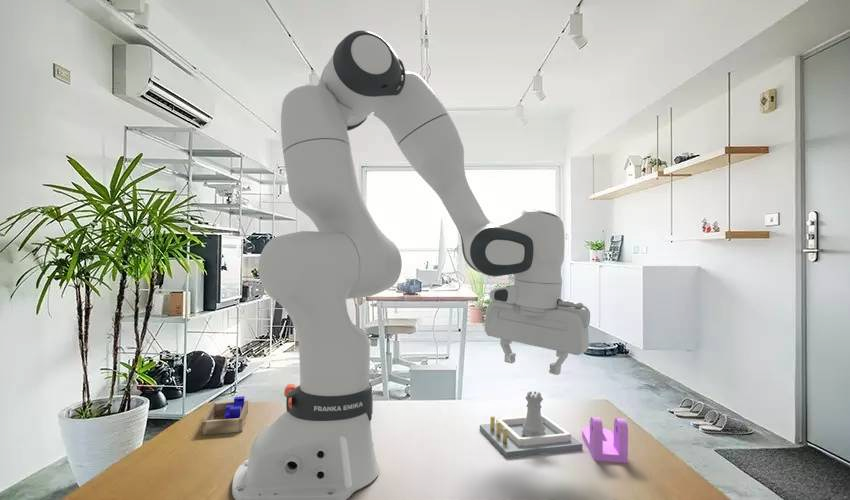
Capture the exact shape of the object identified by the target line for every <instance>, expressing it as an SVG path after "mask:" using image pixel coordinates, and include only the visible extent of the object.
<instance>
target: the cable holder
mask: <svg viewBox="0 0 850 500" xmlns="http://www.w3.org/2000/svg"><path fill="white" fill-rule="evenodd" d="M245 399H246V396H245V395H242V396H235V397H234V398H233V402H234V404H227V406H226V412H225V415H224V419H235V418H240V415H241V412H242V409H243V406H244V403H245V401H246V400H245Z"/></svg>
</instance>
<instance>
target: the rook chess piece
mask: <svg viewBox="0 0 850 500" xmlns="http://www.w3.org/2000/svg"><path fill="white" fill-rule="evenodd" d="M526 394H527V395H526V396H525V400H526V401H527V404H526V409H527V411H526V412H527V413H526V416H527V417H526V420H525V423H524V424H523V426H522V428H523V430H522V433H523V435H524V436H525V437H532V436H542V435H545V434H546V433H545V432H544V431H545V426H544V425H543V422H542V420H541V415H542V414H541V409H542V405H541V403H542V402H543V400H544V398H543V397H542V394H541V392H539V391H538V392H537V391H528V392H527V393H526Z"/></svg>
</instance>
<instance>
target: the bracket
mask: <svg viewBox="0 0 850 500" xmlns="http://www.w3.org/2000/svg"><path fill="white" fill-rule="evenodd" d="M603 426H604V425H603V422H602V418H601V417H599V416H598V417H597V416H596V417H595V416H591V417H590V420H589V426H584V427H583V428H582V429H581V437H582V440H583V441H584V444H585V445H586V448H587V449H588V451H589V453H590V456H591V457H592V459H593V461H595V462H611V463H622V464H623V463H625V464H627V463H628V462H629V460H628V458H629V454H628V453H629V428H628V422H627V420H626V418H619V417H618V418H617V417H616V418H614V421H613V432H612V430H610V429H608V428H605V427H603Z"/></svg>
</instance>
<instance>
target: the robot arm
mask: <svg viewBox="0 0 850 500" xmlns="http://www.w3.org/2000/svg"><path fill="white" fill-rule="evenodd" d="M372 113H373V114H372ZM371 114H372V115H373V116H374V117H376V118H378V119H379V120H380V121H381V122H382V123H383V124H384V125H385V126H386V127H387V129H389V131H390V133H391V135H392V137H393V140H394V141H395V143H396V144H397V146H398V147H399V149H400V151H401V153H402V154H403V156H404V157H405V159H406V160H407V161H408V163H409V164H410V166H411V167H412V168H413V169H414V170H415V172H416V173H418V174H419V176H420V177H421V179H423V180H424V181H425V182H426V184H427V185H429V186H430V188H432V190H433V191H434V192H435V193H436V195H437V196H438V197H439V199H440V200H441V202H442V204H443V206H444V207H445V209H446V211H447V213H448V214H449V216H450V218H451V219H452V221H453V223H454V225H455V226H456V229H457V231H458V233H459V234H460V240H461V250H462V255H463V259H464V261H465V262H466V264H467V265H468V266H469V267H470V269H472V270H474V271H476V272H477V273H481V274H483V275H485V276H487V277H491V278H492V277H493V278H496V277H503V276H508V275H509V276H510V275H514V279H513V284H511V285H505V286H504V287H499V288H493V289H491V290H490V291H489V298H490V300H491V301H490V302H489V304H488V305H487V307H486V311H485V317H484V318H485V319H484V332H485V333H486V335H487V336H488V337H492V338H497V339H499V340H500V347H501V349H502V351H503V353H504V362H505V363H508V364H514V363H515V362H516V357H517V355H516V353H514V352H513V350H512V348H511V346H510V344H512V342H515V343H519V344H524V345H530V346H534V347H538V348H542V349H547V350H552V351H556V353H555V356H556V357H557V360H556V361H555V362H552V363H550V364H549V369H548V371H549V374H551V375H554V376H559V375H560V374H561V372H562V371H561V370H562V365H563V364H564V362H565V361H566V360H567V358H568V357H569V354H570V355H573V356H579V355H582V354H584V353H585V352H586V351H587V350H588V349H589V342H590V341H589V336H590V335H589V325H590V321H591V311H590V309H589V308H588V307H587V306H585V305H584V304H583V303H582V302H579V301H578V302H577V301H570V300H566V299H561V298H562V289H563V288H562V287H563V286H562V285H563V278H562V272H561V271H562V266H563V263H564V259H565V243H566V242H565V241H566V240H565V225H564V223H563V220H562V219H561V218H560V216H558V215H556V214H554V213H552V212H547V211H544V210H539V209H538V210H537V209H530V208H529V209H524V210H523V211H522V212H520V213H519V214H517V215H515V216H513V217H511V218H509V219H506V220H503V221H500V222H498V223H492V222H491V221H490V220H489V219H488V218H487V216H486V214H485V213H484V211H483V209H482V207H481V205H480V203H479V201H478V200H477V198H476V196H475V195H474V193H473V191H472V189H471V187H470V185H469V183H468V180H467V177H466V171H465V151H464V150H465V149H464V145H463V142H462V139H461V137H460V134H459V131H458V129H457V127H456V124H455V123H454V121H453V119H452V117H451V116H450V113H449V112H448V110H447V109H446V107H445V106H444V105H443V103H442V101H441V100H440V98H439V97H438V96H437V95H436V93H435V92H434V91H433V89H432V88H431V87H430V85H429V84H428V83H427V82H426V81H425V79H424V78H423V77H421V75H419V74H418V73H416V72H413V71H406V68H405V65H404V64H403V60H401V59H400V58H399V57H398V55H397V53H396V51H395V50H394V49H393V47H392V46H391V45H390V44H389V43H388V42H387V41H386V40H385V39H384V38H382V37H381V36H380V35H377V34H376V33H374V32H371V31H368V30H356V31H353V32H351V33H349V34H348V35H346V36H345V37H344V38H343V39H342V40H341V41H340V42H339V43H338V44H337V45H336V47H335V48H334V51H333V54H332V56H331V57H330V59H329V60H328V62H327V63H326V65H325V67H324V68H323V70H322V72H321V75H320V78H319V80H318V83H317V85H314V84H307V85H300V86H298V87H294V89H292V90H290V91H289V92H287V94H286V95H285V97H284V98H283V100H282V102H281V115H280V118H281V119H280V120H281V121H280V129H281V130H280V131H281V133H280V134H281V135H280V136H281V146H282V147H281V148H282V153H283V155H282V156H283V160H284V168H285V174H286V179H287V187H288V192H289V193H288V194H289V197H290V200H291V202H292V204H293V205H294V206H295V208H297V209H298V210H299V211H301V212H302V213H304V215H306V216H307V217H308V218H309V219H310V220H311V221H312V223H313V224H314V225H315V226H316V228H317V231H314V230H313V231H311V230H309V231H308V230H302V231H295V232H291V233H290V232H289V233H287V234H282V235H279V236H274V237H272V238H270V239H269V240H268V241H267V243H266V244H265V245H264V247H263V249H262V251H261V253H260V256H259V259H258V264H257V265H258V266H257V267H258V268H257V273H258V278H259V281H260V284H261V286H262V288H263V289H264V291H265V292H266V294H267V295H268V296H269V297H270V298H272V299H273V300H274V301H275V302H277V303H278V304H279V305H280V306H281V307H282V308H283V309H284V311H285V312H286V313H287V314H288V317H289V319H290V320H291V321H292V324H293V326H294V327H293V328H294V329H295V333H296V337H297V342H298V353H299V355H298V356H299V385H298V386H297V385H295V384H293V383H289V384H286V386H285V387H284V393H283V395H284V397H285V398H286V401H285V402H286V403H285V404H286V405H285V406H286V408H285V409H286V411H285V412H284V413H283V414H281V415H280V416H279V417H278V418H276V419H275V420H273V421H272V422H271V423H270V424H268V425H267V426H266V427H265V428H263V429H262V430H261V431H260V432H258V434H257V435H256V437H255V438H254V441H253V443H252V444H251V448H250V451H249V454H248V458H247V459H246V460H244V461H243V462H242V463H241V464H240V465H239V466H238V467H237V469H236V470H235V472H234V475H233V479H232V484H231V485H232V486H231V494H232V497H233V499H234V500H348V499H349V498H350V497H351V496H353V494H354V493H355V492H356V491H358V490H360V489H362V488H364V487H367V486H369V484H371V483H372V482H373V481H375V480H376V478H377V476H378V475H379V472H380V467H379V464H378V462H377V458H376V457H377V456H376V453H375V448H374V441H373V433H372V425H371V422H372V418H373V414H374V413H373V407H374V391H373V387H372V384H371V382H370V372H371V371H370V366H371V365H370V364H371V363H370V361H371V360H370V358H371V352H370V351H371V350H370V349H371V347H370V346H371V344H370V343H371V342H370V338H369V336H368V334H367V333H366V332H365V331H364V330H363V328H361V327H359V326H358V325H356V324H355V323H353V322H352V320H351V318H350V315H349V311H348V307H347V300H348V299H349V300H351V299H358V298H366V297H367V298H368V297H371V296H374V295H377V294H380V293H382V292H384V291H386V290H389V289H390V288H392V287H394V285H396V283H397V281H398V280H399V278H400V276H401V274H402V263H403V261H402V256H401V252H400V251H399V248H398V247H397V245H396V244H395V243H394V242H393V241H392V240H391V239H389V238H388V237H387V236H386V235H385V234H384V233H383V231H382V230H381V229H380V228H379V226H378V225H377V224H376V222H375V220H374V219H373V217H372V215H371V213H370V212H369V210H368V207H367V206H366V204H365V202H364V199H363V197H362V194H361V192H360V187H359V184H358V178H357V174H356V170H355V164H354V160H353V159H354V158H353V154H352V147H351V141H350V138H349V134H348V133H349V131H352V130H355V129H357V128H358V127H360V126H361V125H362V124H364V122H365V121H367V119H368V117H369V116H370V115H371Z"/></svg>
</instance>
